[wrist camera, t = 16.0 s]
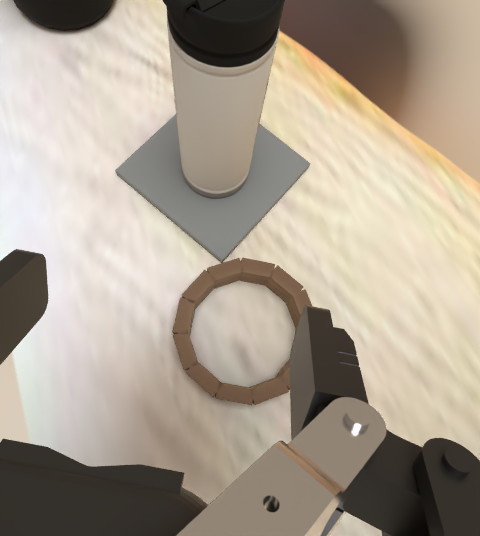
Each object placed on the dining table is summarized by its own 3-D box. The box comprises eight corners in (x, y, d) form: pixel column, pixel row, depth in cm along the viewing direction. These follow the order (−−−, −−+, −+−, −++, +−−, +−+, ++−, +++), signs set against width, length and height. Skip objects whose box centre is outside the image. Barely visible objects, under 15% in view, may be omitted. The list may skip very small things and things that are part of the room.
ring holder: (333, 325, 37) (344, 320, 34) (251, 431, 34) (256, 435, 31) (235, 244, 38) (238, 233, 35) (149, 339, 35) (144, 335, 33)
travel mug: (165, 164, 39) (128, -47, 20) (220, 127, 40) (235, -103, 21) (207, 214, 38) (211, 42, 19) (262, 174, 40) (317, -23, 20)
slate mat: (308, 167, 41) (310, 163, 40) (221, 262, 38) (222, 260, 37) (208, 89, 42) (208, 83, 42) (117, 174, 39) (115, 170, 38)
